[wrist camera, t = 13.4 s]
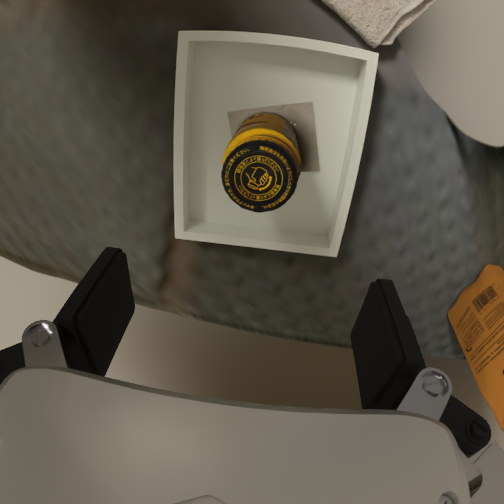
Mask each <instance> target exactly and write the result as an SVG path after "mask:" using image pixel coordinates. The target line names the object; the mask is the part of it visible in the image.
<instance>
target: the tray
mask: <svg viewBox="0 0 504 504" xmlns="http://www.w3.org/2000/svg"><path fill="white" fill-rule="evenodd" d="M378 56H379V53H376V52H372V51H368V50H364V49H359V48H355V47H350V46H346V45H341V44H336V43H331V42H325V41H319V40H313V39H307V38H300V37H293V36H285V35H276V34H266V33H254V32H238V31H179V33H178V46H177V62H176V80H175V104H174V221H175V238H177V239H185V240H194V241H203V242H211V243H220V244H229V245H237V246H246V247H254V248H263V249H271V250H280V251H288V252H297V253H305V254H314V255H322V256H330V257H337V254H338V250H339V247H340V243H341V239H342V235H343V232H344V228H345V224H346V220H347V216H348V212H349V208H350V203H351V199H352V195H353V191H354V186H355V182H356V178H357V173H358V168H359V164H360V159H361V154H362V149H363V144H364V139H365V134H366V129H367V124H368V118H369V113H370V107H371V102H372V96H373V90H374V83H375V77H376V70H377V63H378ZM306 102H313V109H314V118H315V128H316V137H317V147H318V158H319V168H320V171H312V172H300V176H299V179H298V182H297V188H296V189H295V192H294V194H293V195H292V196H291V198H290V199H289V200H288V201H287V202H286V203H285V204H284V205H283V206H281V207H280V208H278V209H275V210H273V211H268V212H262V213H258V212H253V211H250V210H246V209H243V208H241V207H240V206H239V205H237V204H236V203H235V202H233V201H232V200H231V199H230V198H229V196H228V194H227V193H226V192H225V190H224V187H223V184H222V178H221V172H222V168H223V163H222V161H223V156H224V152H225V149H226V147H227V146H228V144H229V142H230V141H231V139H232V135H231V130H230V124H229V119H228V114H227V112H231V111H238V110H244V109H251V108H259V107H267V106H276V105H285V104H295V103H306ZM290 123H292V122H290ZM294 125H296V124H294Z"/></svg>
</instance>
